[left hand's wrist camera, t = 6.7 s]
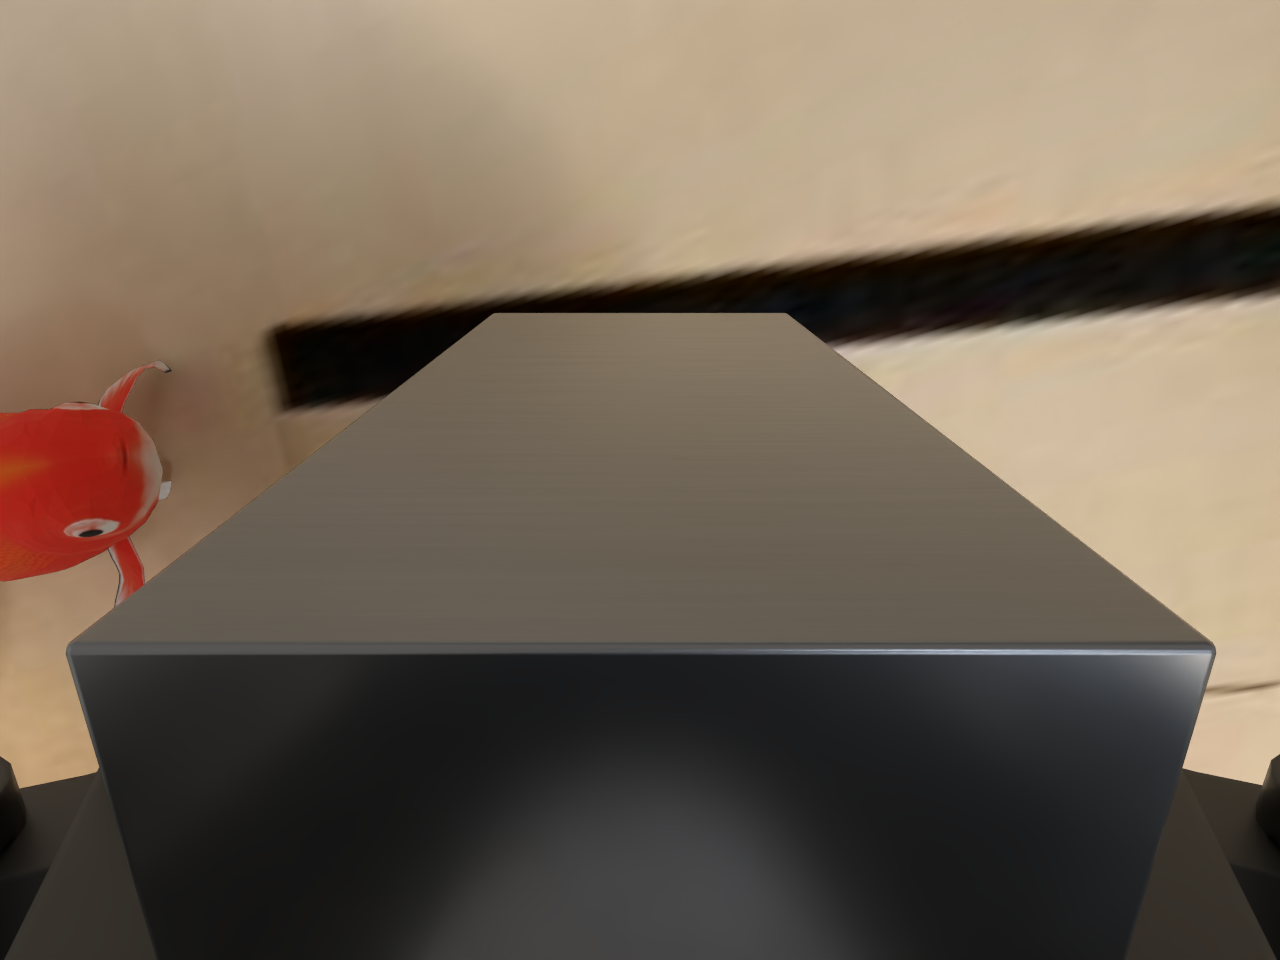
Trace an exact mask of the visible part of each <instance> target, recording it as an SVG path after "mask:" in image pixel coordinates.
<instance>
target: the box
mask: <svg viewBox="0 0 1280 960" xmlns="http://www.w3.org/2000/svg"><path fill="white" fill-rule="evenodd" d="M66 656H67V659H68V663H69V666H70V670H71V673H72V676H73V680H74V683H75V686H76V690H77V693H78V697H79V700H80V703H81V707H82V710H83V713H84V717H85V720H86V724H87V727H88V730H89V734H90V737H91V740H92V744H93V747H94V751H95V754H96V757H97V761H98V764H99V767H100V771H101V774H102V777H103V781H104V784H105V788H106V791H107V794H108V798H109V801H110V804H111V808H112V811H113V815H114V818H115V821H116V825H117V828H118V831H119V835H120V838H121V842H122V845H123V848H124V852H125V855H126V858H127V862H128V865H129V869H130V872H131V875H132V879H133V882H134V885H135V889H136V892H137V896H138V899H139V902H140V906H141V909H142V912H143V916H144V919H145V922H146V926H147V929H148V933H149V936H150V939H151V943H152V946H153V949H154V953H155V956H156V960H1125V958H1126V955H1127V951H1128V948H1129V945H1130V941H1131V938H1132V935H1133V931H1134V928H1135V925H1136V921H1137V918H1138V915H1139V911H1140V908H1141V904H1142V901H1143V898H1144V894H1145V891H1146V888H1147V884H1148V881H1149V878H1150V874H1151V871H1152V867H1153V864H1154V861H1155V857H1156V854H1157V851H1158V847H1159V844H1160V841H1161V837H1162V834H1163V831H1164V827H1165V824H1166V820H1167V817H1168V814H1169V810H1170V807H1171V804H1172V800H1173V797H1174V794H1175V790H1176V787H1177V783H1178V780H1179V777H1180V773H1181V770H1182V767H1183V763H1184V760H1185V757H1186V753H1187V750H1188V747H1189V743H1190V740H1191V736H1192V733H1193V730H1194V726H1195V723H1196V720H1197V716H1198V713H1199V710H1200V706H1201V703H1202V699H1203V696H1204V693H1205V689H1206V686H1207V683H1208V679H1209V676H1210V673H1211V669H1212V666H1213V663H1214V659H1215V656H1216V649H1215V646H1214V644H1213V642H1211V641H1210V640H1209V639H1207V638H1206V637H1205V636H1203V635H1202V634H1201V633H1200V632H1198V631H1197V630H1196V629H1194V628H1193V627H1192V626H1191V625H1189V624H1188V623H1187V622H1185V621H1184V620H1183V619H1181V618H1180V617H1179V616H1178V615H1176V614H1175V613H1174V612H1172V611H1171V610H1170V609H1169V608H1167V607H1166V606H1165V605H1163V604H1162V603H1161V602H1159V601H1158V600H1157V599H1156V598H1154V597H1153V596H1152V595H1150V594H1149V593H1148V592H1147V591H1145V590H1144V589H1143V588H1141V587H1140V586H1139V585H1137V584H1136V583H1135V582H1134V581H1132V580H1131V579H1130V578H1128V577H1127V576H1126V575H1124V574H1123V573H1122V572H1121V571H1119V570H1118V569H1117V568H1115V567H1114V566H1113V565H1112V564H1110V563H1109V562H1108V561H1106V560H1105V559H1104V558H1102V557H1101V556H1100V555H1099V554H1097V553H1096V552H1095V551H1093V550H1092V549H1091V548H1090V547H1088V546H1087V545H1086V544H1084V543H1083V542H1082V541H1080V540H1079V539H1078V538H1077V537H1075V536H1074V535H1073V534H1071V533H1070V532H1069V531H1068V530H1066V529H1065V528H1064V527H1062V526H1061V525H1060V524H1058V523H1057V522H1056V521H1055V520H1053V519H1052V518H1051V517H1049V516H1048V515H1047V514H1046V513H1044V512H1043V511H1042V510H1040V509H1039V508H1038V507H1036V506H1035V505H1034V504H1033V503H1031V502H1030V501H1029V500H1027V499H1026V498H1025V497H1023V496H1022V495H1021V494H1020V493H1018V492H1017V491H1016V490H1014V489H1013V488H1012V487H1011V486H1009V485H1008V484H1007V483H1005V482H1004V481H1003V480H1001V479H1000V478H999V477H998V476H996V475H995V474H994V473H992V472H991V471H990V470H989V469H987V468H986V467H985V466H983V465H982V464H981V463H979V462H978V461H977V460H976V459H974V458H973V457H972V456H970V455H969V454H968V453H967V452H965V451H964V450H963V449H961V448H960V447H959V446H957V445H956V444H955V443H954V442H952V441H951V440H950V439H948V438H947V437H946V436H945V435H943V434H942V433H941V432H939V431H938V430H937V429H935V428H934V427H933V426H932V425H930V424H929V423H928V422H926V421H925V420H924V419H922V418H921V417H920V416H919V415H917V414H916V413H915V412H913V411H912V410H911V409H910V408H908V407H907V406H906V405H904V404H903V403H902V402H900V401H899V400H898V399H897V398H895V397H894V396H893V395H891V394H890V393H889V392H888V391H886V390H885V389H884V388H882V387H881V386H880V385H878V384H877V383H876V382H875V381H873V380H872V379H871V378H869V377H868V376H867V375H866V374H864V373H863V372H862V371H860V370H859V369H858V368H856V367H855V366H854V365H853V364H851V363H850V362H849V361H847V360H846V359H845V358H843V357H842V356H841V355H840V354H838V353H837V352H836V351H834V350H833V349H832V348H831V347H829V346H828V345H827V344H825V343H824V342H823V341H821V340H820V339H819V338H818V337H816V336H815V335H814V334H812V333H811V332H810V331H809V330H807V329H806V328H805V327H803V326H802V325H801V324H799V323H798V322H797V321H796V320H794V319H793V318H792V317H790V316H789V315H788V314H786V313H494V314H492V315H491V316H490V317H488V318H487V319H486V320H485V321H483V322H482V323H481V324H479V325H478V326H477V327H476V328H474V329H473V330H472V331H470V332H469V333H468V334H467V335H465V336H464V337H463V338H461V339H460V340H459V341H458V342H456V343H455V344H454V345H452V346H451V347H450V348H449V349H447V350H446V351H445V352H443V353H442V354H441V355H439V356H438V357H437V358H436V359H434V360H433V361H432V362H430V363H429V364H428V365H427V366H425V367H424V368H423V369H421V370H420V371H419V372H418V373H416V374H415V375H414V376H412V377H411V378H410V379H409V380H407V381H406V382H405V383H403V384H402V385H401V386H400V387H398V388H397V389H396V390H394V391H393V392H392V393H391V394H389V395H388V396H387V397H385V398H384V399H383V400H381V401H380V402H379V403H378V404H376V405H375V406H374V407H372V408H371V409H370V410H369V411H367V412H366V413H365V414H363V415H362V416H361V417H360V418H358V419H357V420H356V421H354V422H353V423H352V424H351V425H349V426H348V427H347V428H345V429H344V430H343V431H342V432H340V433H339V434H338V435H336V436H335V437H334V438H333V439H331V440H330V441H329V442H327V443H326V444H325V445H324V446H322V447H321V448H320V449H318V450H317V451H316V452H314V453H313V454H312V455H311V456H309V457H308V458H307V459H305V460H304V461H303V462H302V463H300V464H299V465H298V466H296V467H295V468H294V469H293V470H291V471H290V472H289V473H287V474H286V475H285V476H284V477H282V478H281V479H280V480H278V481H277V482H276V483H275V484H273V485H272V486H271V487H269V488H268V489H267V490H266V491H264V492H263V493H262V494H260V495H259V496H258V497H256V498H255V499H254V500H253V501H251V502H250V503H249V504H247V505H246V506H245V507H244V508H242V509H241V510H240V511H238V512H237V513H236V514H235V515H233V516H232V517H231V518H229V519H228V520H227V521H226V522H224V523H223V524H222V525H220V526H219V527H218V528H217V529H215V530H214V531H213V532H211V533H210V534H209V535H208V536H206V537H205V538H204V539H202V540H201V541H200V542H199V543H197V544H196V545H195V546H193V547H192V548H191V549H189V550H188V551H187V552H186V553H184V554H183V555H182V556H180V557H179V558H178V559H177V560H175V561H174V562H173V563H171V564H170V565H169V566H168V567H166V568H165V569H164V570H162V571H161V572H160V573H159V574H157V575H156V576H155V577H153V578H152V579H151V580H150V581H148V582H147V583H146V584H144V585H143V586H142V587H141V588H139V589H138V590H137V591H135V592H134V593H133V594H132V595H130V596H129V597H128V598H126V599H125V600H124V601H122V602H121V603H120V604H119V605H117V606H116V607H115V608H113V609H112V610H111V611H110V612H108V613H107V614H106V615H104V616H103V617H102V618H101V619H99V620H98V621H97V622H95V623H94V624H93V625H92V626H90V627H89V628H88V629H86V630H85V631H84V632H83V633H81V634H80V635H79V636H77V637H76V638H75V639H74V640H72V641H71V642H70V643H69V644H68V646H67V649H66Z"/></svg>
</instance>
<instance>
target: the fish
mask: <svg viewBox="0 0 1280 960" xmlns="http://www.w3.org/2000/svg"><path fill="white" fill-rule="evenodd" d="M153 367H155V368H157V369H159V370H161V371H163V372H165V373H166V372H170V371H171V369H170V368H169V367H167V366H166V365H165V364H164V363H163V362H162V361H160V360H158V361H155V362H152V363H150V364H147V365H145V366H142V367H140V368H137V369H134V370H132V371H130V372H129V373H127V374H126V375H124V376H123V377H122V378H121V379H119V380H118V381H117V382H115V383H114V384H113V385H112V386H110V387H109V388H108V389H107V390H106V392H105V393H104V394H103V396H102V397H101V399H100V401H99V403H98V406H97V405H94V404H91V403H85V402H68V403H64V404H60V405H58V406H56V407H54V408H52V409H50V410H42V409H30V410H27V411H24V412H21V413H0V581H10V580H17V579H22V578H27V577H33V576H38V575H43V574H48V573H53V572H57V571H61V570H64V569H67V568H70V567H73V566H75V565H77V564H79V563H81V562H83V561H85V560H88V559H90V558H92V557H94V556H96V555H98V554H100V553H102V552H104V551H105V550H107V549H108V551H109V553H110V556H111V558H112V559H113V561H114V563H115V565H116V567H117V569H118V571H119V586H118V591H117V595H116V600H115V606H114V608H115V607H116V606H117V605H119V604H120V603H121V602H122V601H124V600H125V599H126V598H128V597H129V596H130V595H132V594H133V593H134V592H135V591H137V590H138V589H139V588H141V587H142V586H143V585H144V584H145V579H144V568H143V565H142V563H141V561H140V559H139V556H138V554H137V552H136V550H135V548H134V546H133V543H132V541H131V539H130V537H129V536H130V535H131V534H132V533H133V532H135V531H136V530H137V529H138V528H139V527H140V526H142V525H143V524H144V523H145V522H146V521H147V519H148V517H149V516H150V514H151V512H152V511H153V509H154V508H155V507H156V504H157V502H158V501H159V500H162V499H166V498H167V497H168V495H169V492H170V489H171V484H172V482H171V481H163V482H161V481H162V474H163V470H162V466H161V462H160V459H159V456H158V453H157V450H156V447H155V444H154V441H153V440H152V439H151V438H150V436H149V435H148V434H147V432H146V431H145V430H144V429H143V427H142V426H141V425H140V423H139V422H137V421H135V420H134V419H132V418H130V417H128V416H127V415H125V414H123V413H122V411H123V407H124V404H125V401H126V400H127V398H128V396H129V394H130V392H131V390H132V388H133V386H134V384H135V381H136V379H137V377H138V376H139V375H140V374H141V373H142V371H143V370H144V369H145V368H153Z"/></svg>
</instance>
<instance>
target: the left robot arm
mask: <svg viewBox="0 0 1280 960" xmlns="http://www.w3.org/2000/svg"><path fill="white" fill-rule="evenodd" d="M0 960H156V956H155V953H154V949H153V946H152V943H151V939H150V936H149V933H148V929H147V926H146V922H145V919H144V916H143V912H142V909H141V906H140V902H139V899H138V896H137V892H136V889H135V885H134V882H133V879H132V875H131V872H130V869H129V865H128V862H127V858H126V855H125V852H124V848H123V845H122V842H121V838H120V835H119V831H118V828H117V825H116V821H115V818H114V815H113V811H112V808H111V804H110V801H109V798H108V794H107V791H106V788H105V784H104V781H103V777H102V774H101V771H100V767H99V769H98V771H97V772H96V773H92V774H88V775H84V776H79V777H74V778H69V779H64V780H60V781H55V782H50V783H45V784H40V785H35V786H30V787H25V788H21V789H19V787H18V784H17V781H16V778H15V775H14V772H13V769H12V766H11V764H10V763H9V762H8V761H6V760H5V759H3V758H2V757H0ZM1125 960H1280V754H1279V755H1278V756H1277V757H1275V758H1274V759H1272V760H1271V763H1270V766H1269V768H1268V771H1267V774H1266V777H1265V780H1264V783H1263V786H1262V785H1258V784H1253V783H1248V782H1243V781H1238V780H1233V779H1228V778H1223V777H1218V776H1214V775H1209V774H1204V773H1199V772H1194V771H1191V770H1187V769H1183V768H1182V770H1181V773H1180V777H1179V780H1178V783H1177V787H1176V790H1175V794H1174V797H1173V800H1172V804H1171V807H1170V810H1169V814H1168V817H1167V820H1166V824H1165V827H1164V831H1163V834H1162V837H1161V841H1160V844H1159V847H1158V851H1157V854H1156V857H1155V861H1154V864H1153V867H1152V871H1151V874H1150V878H1149V881H1148V884H1147V888H1146V891H1145V894H1144V898H1143V901H1142V904H1141V908H1140V911H1139V915H1138V918H1137V921H1136V925H1135V928H1134V931H1133V935H1132V938H1131V941H1130V945H1129V948H1128V951H1127V955H1126V958H1125Z"/></svg>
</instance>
